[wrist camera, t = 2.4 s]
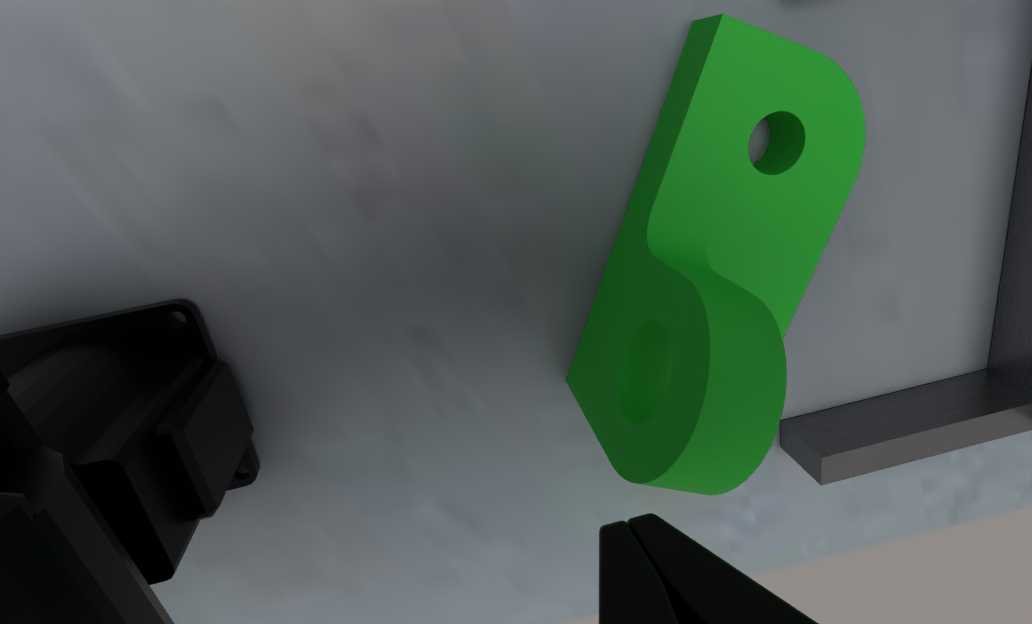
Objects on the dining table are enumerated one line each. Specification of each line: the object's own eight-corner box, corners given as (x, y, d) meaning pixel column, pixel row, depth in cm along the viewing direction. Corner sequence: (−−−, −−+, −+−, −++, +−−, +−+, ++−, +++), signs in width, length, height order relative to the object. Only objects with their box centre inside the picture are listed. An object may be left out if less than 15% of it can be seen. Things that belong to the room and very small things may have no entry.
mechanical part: (710, 408, 23) (857, 562, 15) (565, 378, 21) (649, 533, 14) (852, 85, 19) (1131, 80, 12) (690, 21, 18) (893, -29, 10)
